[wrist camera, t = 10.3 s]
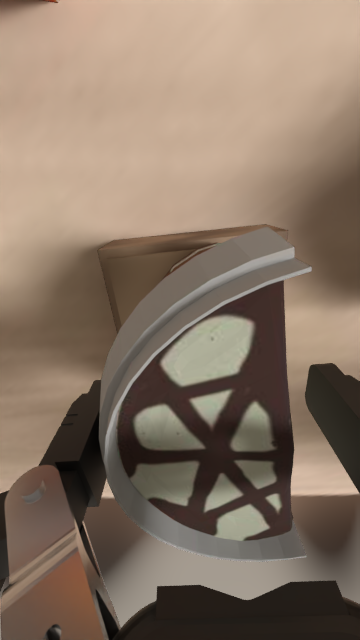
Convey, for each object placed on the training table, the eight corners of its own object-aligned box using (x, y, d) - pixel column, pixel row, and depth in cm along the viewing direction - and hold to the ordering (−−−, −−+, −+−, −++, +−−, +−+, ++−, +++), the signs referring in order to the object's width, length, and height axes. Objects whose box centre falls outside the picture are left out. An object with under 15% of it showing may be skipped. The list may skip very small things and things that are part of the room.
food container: (102, 240, 13) (-27, 315, 4) (212, 214, 13) (313, 235, 4) (158, 404, 19) (152, 589, 10) (237, 387, 18) (307, 563, 9)
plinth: (265, 224, 17) (290, 231, 14) (259, 343, 22) (276, 374, 18) (113, 240, 18) (95, 251, 14) (137, 354, 22) (128, 386, 18)
